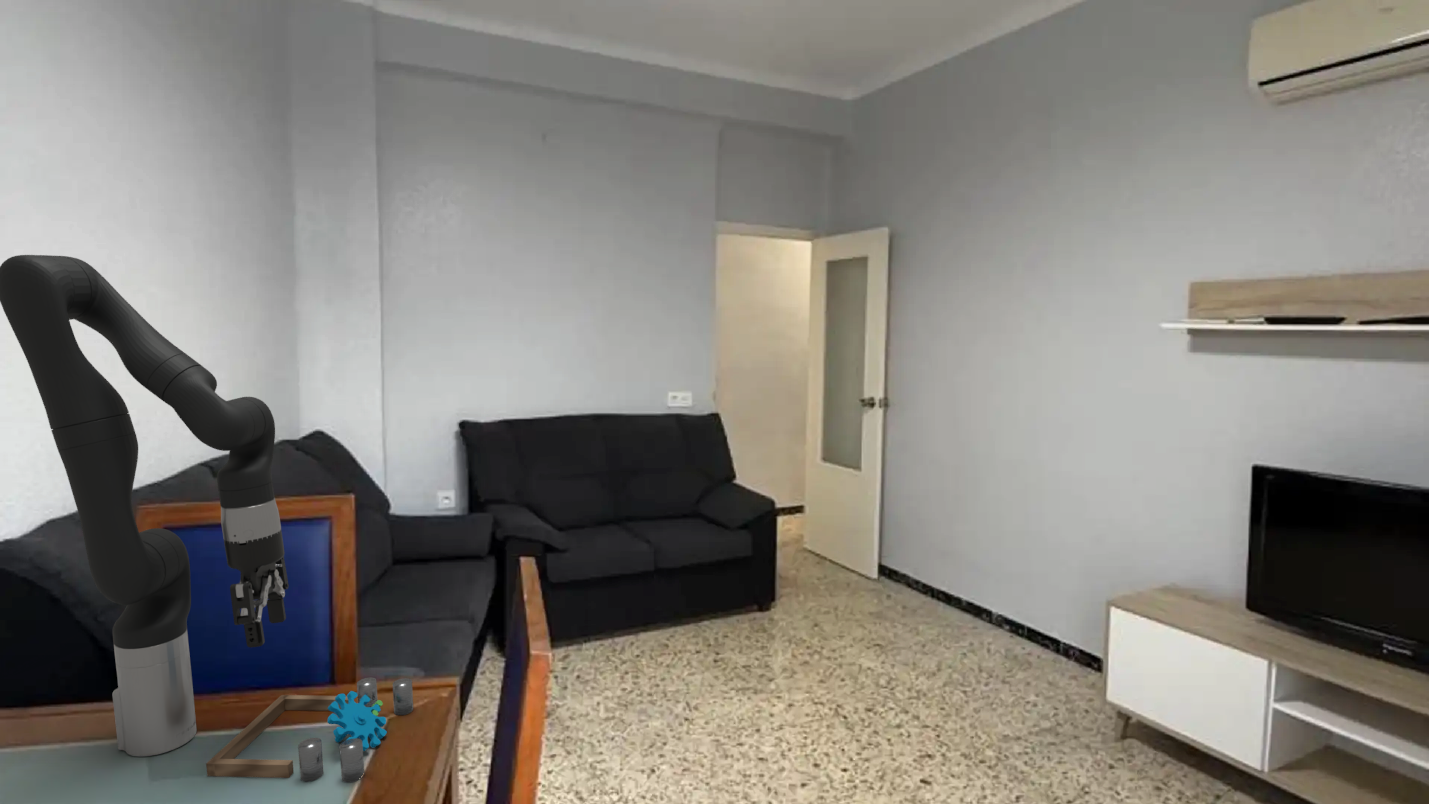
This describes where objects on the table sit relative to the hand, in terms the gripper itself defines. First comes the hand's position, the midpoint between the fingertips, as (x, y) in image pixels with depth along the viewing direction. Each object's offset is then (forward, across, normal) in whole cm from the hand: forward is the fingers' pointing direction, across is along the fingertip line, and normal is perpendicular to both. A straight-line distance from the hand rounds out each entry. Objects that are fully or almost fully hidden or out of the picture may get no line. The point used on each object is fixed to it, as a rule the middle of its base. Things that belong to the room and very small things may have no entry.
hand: (267, 633), depth 121 cm
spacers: (+19, +1, +12) cm, 22 cm away
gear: (+19, +1, +12) cm, 22 cm away
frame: (+18, -1, 0) cm, 18 cm away
